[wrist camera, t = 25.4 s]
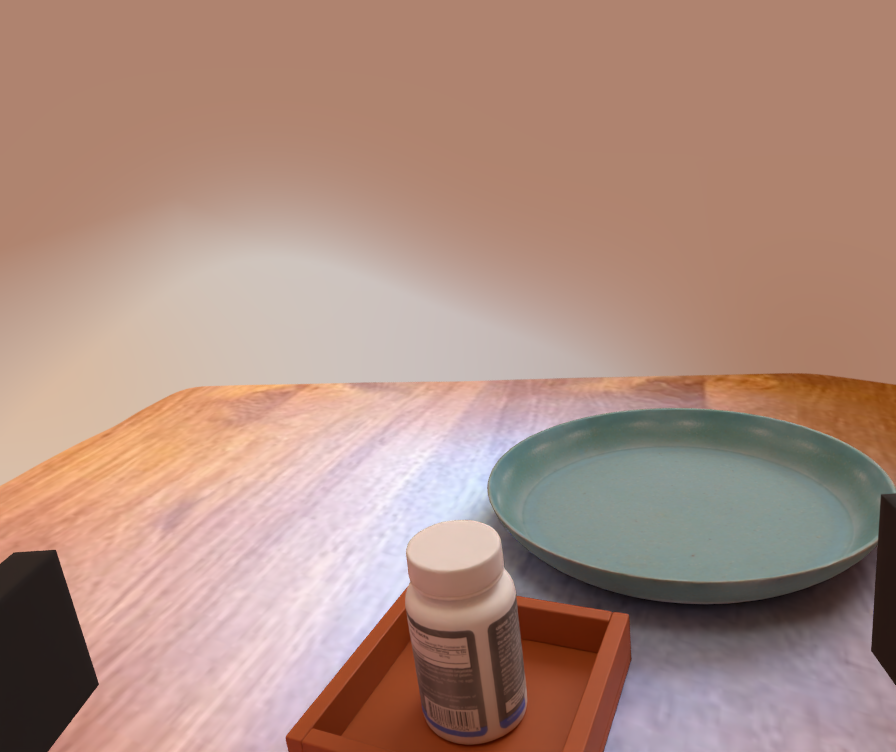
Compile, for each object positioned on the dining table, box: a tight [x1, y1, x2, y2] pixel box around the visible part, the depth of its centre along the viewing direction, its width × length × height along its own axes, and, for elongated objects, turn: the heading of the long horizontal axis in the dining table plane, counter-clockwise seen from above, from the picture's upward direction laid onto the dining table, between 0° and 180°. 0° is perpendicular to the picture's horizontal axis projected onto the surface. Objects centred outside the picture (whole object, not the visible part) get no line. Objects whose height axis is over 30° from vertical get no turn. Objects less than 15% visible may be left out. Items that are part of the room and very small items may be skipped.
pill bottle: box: [405, 520, 527, 745], centre depth 31 cm, size 5×5×8 cm
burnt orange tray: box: [286, 587, 631, 752], centre depth 32 cm, size 12×12×3 cm
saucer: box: [487, 408, 896, 604], centre depth 47 cm, size 24×24×3 cm
